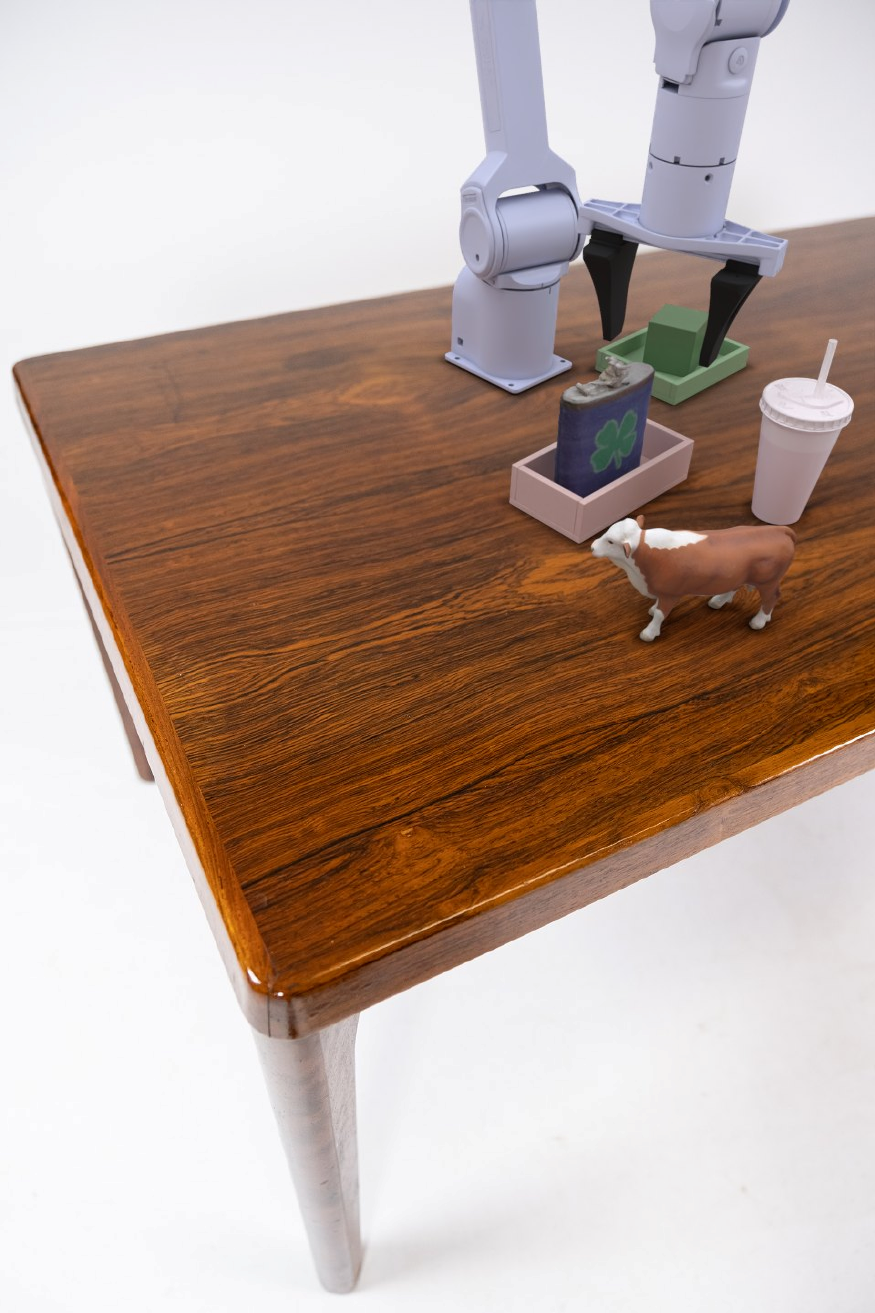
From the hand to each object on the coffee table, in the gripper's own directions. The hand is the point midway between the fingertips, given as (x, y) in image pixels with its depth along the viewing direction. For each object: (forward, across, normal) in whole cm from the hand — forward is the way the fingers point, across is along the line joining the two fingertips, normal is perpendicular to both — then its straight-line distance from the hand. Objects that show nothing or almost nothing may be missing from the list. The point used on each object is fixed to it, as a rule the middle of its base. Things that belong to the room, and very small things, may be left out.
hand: (659, 348), depth 76 cm
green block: (+10, +4, -18) cm, 21 cm away
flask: (+10, +2, +5) cm, 11 cm away
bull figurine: (+11, -10, +16) cm, 22 cm away
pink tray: (+10, +1, +5) cm, 12 cm away
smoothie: (+11, -11, 0) cm, 16 cm away
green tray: (+10, +4, -18) cm, 21 cm away
